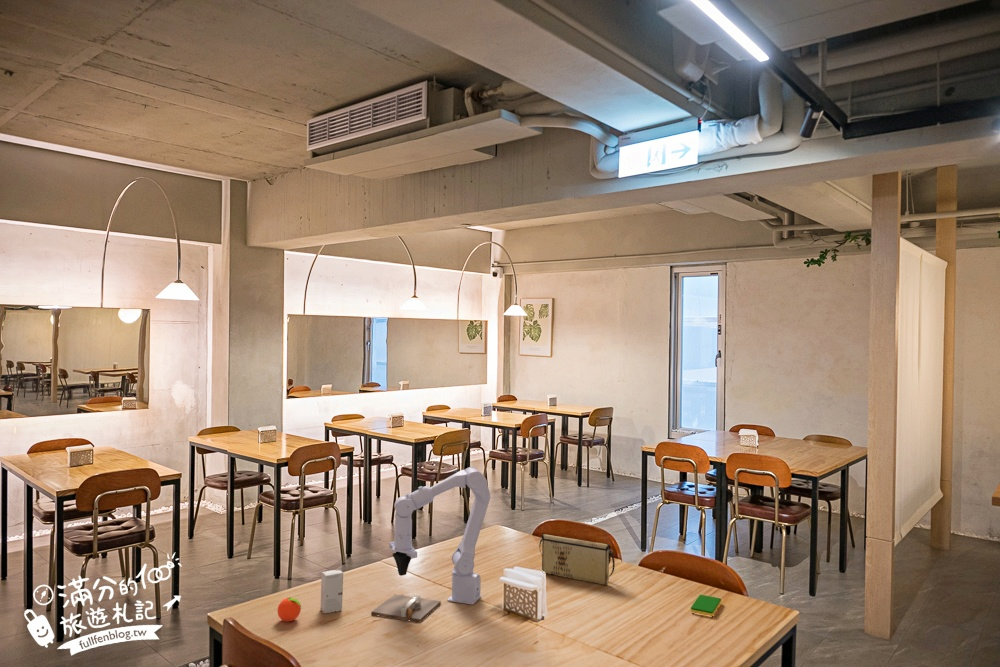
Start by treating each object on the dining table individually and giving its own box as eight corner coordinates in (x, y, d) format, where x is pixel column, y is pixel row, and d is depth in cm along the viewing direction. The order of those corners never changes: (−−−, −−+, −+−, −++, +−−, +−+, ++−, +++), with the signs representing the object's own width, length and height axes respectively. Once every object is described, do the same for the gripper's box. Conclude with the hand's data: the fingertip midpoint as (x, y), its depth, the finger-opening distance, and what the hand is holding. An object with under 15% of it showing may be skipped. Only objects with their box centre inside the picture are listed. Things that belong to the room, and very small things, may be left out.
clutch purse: (617, 582, 246) (617, 541, 246) (610, 587, 240) (611, 546, 240) (543, 568, 260) (544, 529, 260) (536, 573, 254) (536, 534, 254)
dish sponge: (721, 605, 226) (721, 598, 226) (712, 619, 214) (712, 611, 214) (699, 601, 229) (700, 594, 229) (690, 614, 217) (690, 607, 217)
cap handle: (411, 602, 219) (412, 595, 219) (422, 603, 218) (422, 596, 218) (398, 616, 208) (398, 608, 208) (408, 617, 207) (409, 609, 207)
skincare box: (324, 614, 212) (325, 575, 212) (319, 609, 215) (320, 571, 216) (343, 610, 215) (343, 572, 215) (338, 605, 219) (339, 568, 219)
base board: (440, 604, 222) (440, 594, 222) (419, 622, 206) (419, 612, 206) (394, 597, 227) (394, 587, 227) (371, 615, 212) (371, 604, 212)
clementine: (308, 618, 208) (308, 595, 208) (294, 627, 202) (294, 603, 202) (286, 614, 211) (287, 592, 211) (272, 623, 204) (272, 599, 204)
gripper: (381, 531, 226) (381, 571, 225) (404, 540, 215) (403, 583, 214) (399, 527, 230) (398, 567, 230) (422, 537, 219) (422, 578, 219)
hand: (402, 574), depth 222 cm, fingers closed
